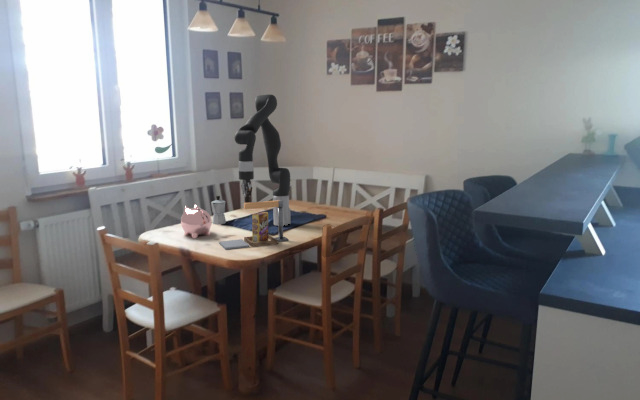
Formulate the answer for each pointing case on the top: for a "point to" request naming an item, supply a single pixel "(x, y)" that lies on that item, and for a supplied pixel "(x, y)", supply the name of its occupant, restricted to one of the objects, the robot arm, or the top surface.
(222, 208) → the coffee maker
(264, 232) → the candy box
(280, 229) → the post
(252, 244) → the wooden tray
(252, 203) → the arm
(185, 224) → the piggy bank
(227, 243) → the mat
